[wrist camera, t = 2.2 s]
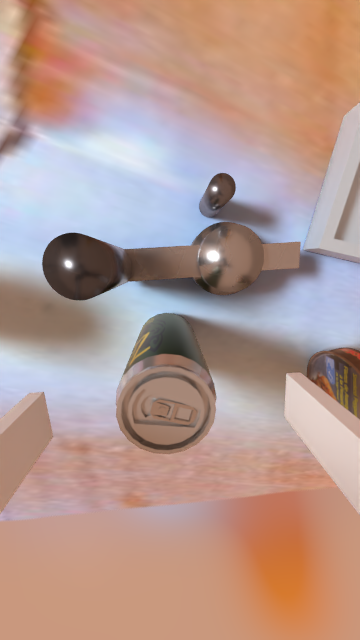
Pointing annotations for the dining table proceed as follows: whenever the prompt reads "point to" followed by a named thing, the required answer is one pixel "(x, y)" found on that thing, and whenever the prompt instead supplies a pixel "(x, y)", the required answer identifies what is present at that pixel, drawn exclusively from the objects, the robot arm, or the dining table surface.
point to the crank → (163, 262)
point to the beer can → (166, 388)
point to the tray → (340, 198)
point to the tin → (338, 376)
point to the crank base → (209, 206)
